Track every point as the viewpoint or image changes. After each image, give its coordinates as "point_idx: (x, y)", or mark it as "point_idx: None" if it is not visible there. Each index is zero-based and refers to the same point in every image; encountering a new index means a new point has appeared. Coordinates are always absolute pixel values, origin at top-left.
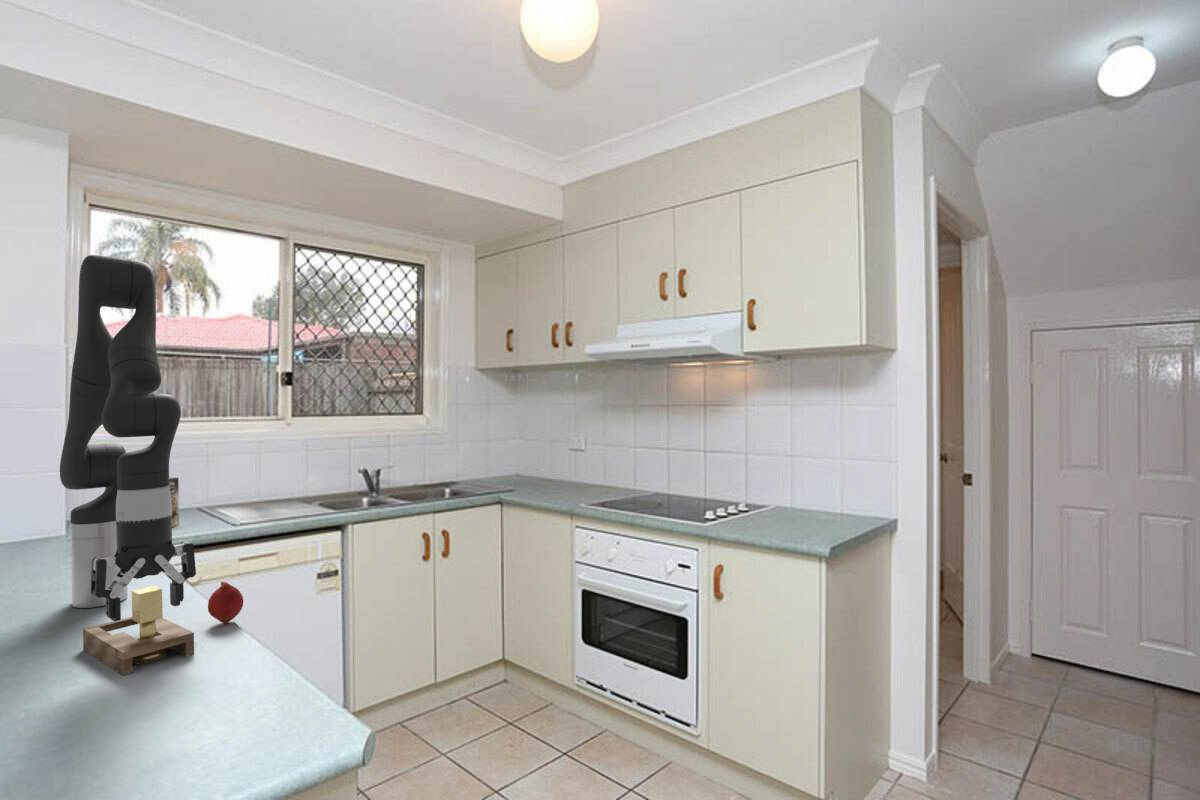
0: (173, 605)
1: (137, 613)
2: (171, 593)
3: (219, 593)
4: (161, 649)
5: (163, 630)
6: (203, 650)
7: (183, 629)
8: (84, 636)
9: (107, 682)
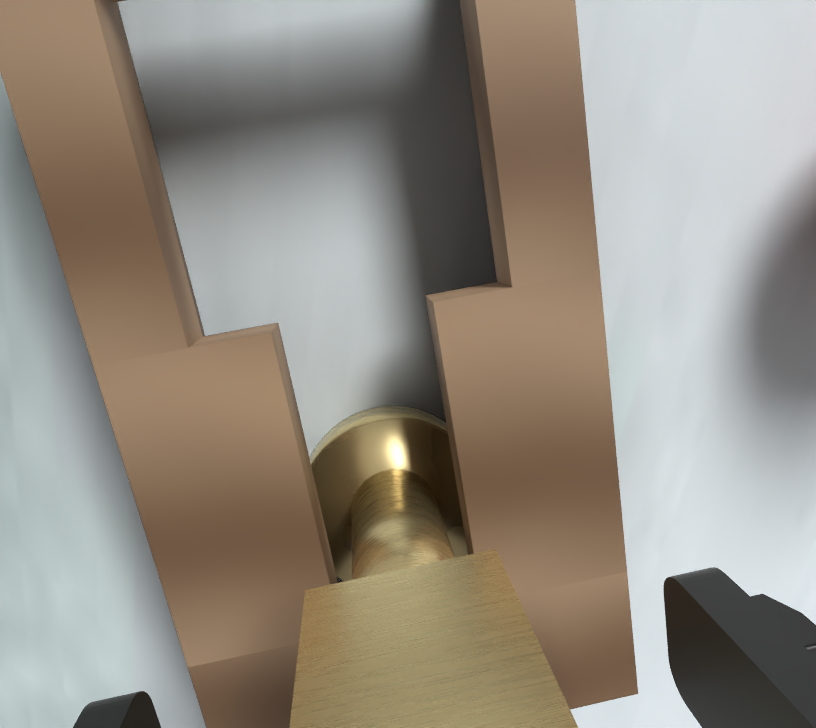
0: (669, 636)
1: None
2: (750, 693)
3: None
4: (455, 551)
5: (509, 520)
6: (629, 577)
7: (612, 589)
8: None
9: (180, 707)
